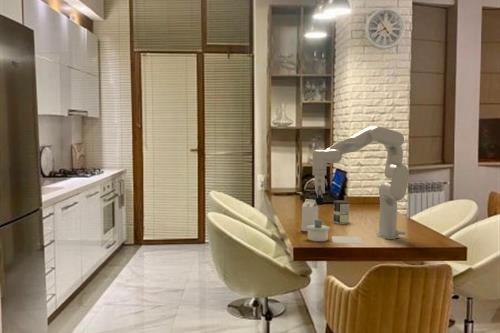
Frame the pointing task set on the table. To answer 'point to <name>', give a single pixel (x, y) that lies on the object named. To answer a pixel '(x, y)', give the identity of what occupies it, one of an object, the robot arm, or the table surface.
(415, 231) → the table surface
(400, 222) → the table surface
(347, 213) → the coffee can
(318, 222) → the lid
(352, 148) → the robot arm
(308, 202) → the milk carton
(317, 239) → the bowl
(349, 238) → the mat
